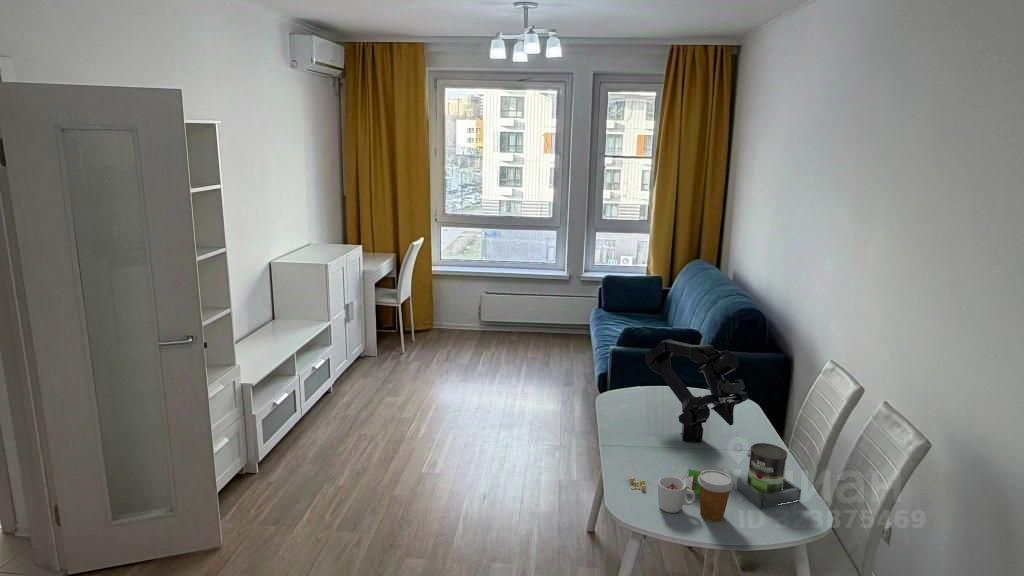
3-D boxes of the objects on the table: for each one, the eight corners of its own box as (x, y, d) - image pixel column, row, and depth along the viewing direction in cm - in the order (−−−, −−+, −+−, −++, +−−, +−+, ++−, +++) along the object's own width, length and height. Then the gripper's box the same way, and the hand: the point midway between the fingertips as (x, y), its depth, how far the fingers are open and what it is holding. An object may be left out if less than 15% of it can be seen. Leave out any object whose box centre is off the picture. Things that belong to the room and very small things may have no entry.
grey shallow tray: (736, 489, 204) (737, 477, 203) (773, 483, 208) (775, 471, 207) (760, 509, 193) (762, 496, 193) (799, 501, 198) (801, 489, 197)
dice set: (629, 482, 208) (630, 477, 207) (646, 485, 206) (647, 479, 206) (628, 490, 203) (628, 485, 202) (645, 493, 201) (645, 487, 201)
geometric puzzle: (686, 474, 208) (684, 462, 202) (708, 479, 205) (707, 467, 199) (681, 495, 204) (679, 483, 198) (704, 501, 201) (703, 489, 195)
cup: (695, 505, 194) (697, 481, 192) (693, 520, 187) (695, 494, 185) (657, 498, 198) (659, 474, 196) (654, 512, 190) (656, 487, 189)
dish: (750, 459, 223) (751, 451, 222) (745, 450, 230) (746, 441, 229) (772, 461, 222) (773, 452, 222) (766, 451, 229) (767, 443, 228)
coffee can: (773, 506, 195) (778, 462, 192) (740, 492, 202) (744, 450, 199) (787, 493, 202) (793, 450, 199) (754, 480, 209) (759, 439, 206)
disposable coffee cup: (735, 523, 186) (740, 484, 183) (704, 526, 184) (708, 487, 181) (718, 505, 195) (722, 467, 192) (688, 508, 193) (692, 470, 190)
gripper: (710, 372, 214) (727, 419, 207) (751, 369, 223) (769, 414, 216) (688, 385, 222) (704, 430, 216) (729, 381, 231) (745, 425, 225)
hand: (731, 424), depth 218 cm, fingers closed
